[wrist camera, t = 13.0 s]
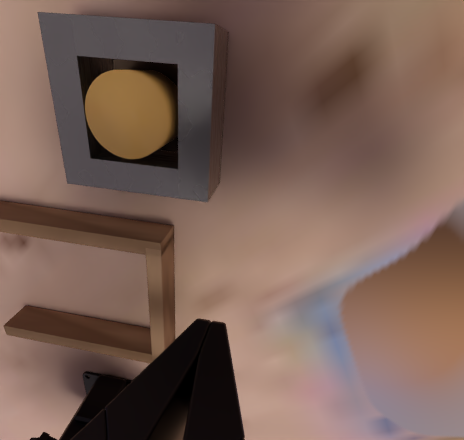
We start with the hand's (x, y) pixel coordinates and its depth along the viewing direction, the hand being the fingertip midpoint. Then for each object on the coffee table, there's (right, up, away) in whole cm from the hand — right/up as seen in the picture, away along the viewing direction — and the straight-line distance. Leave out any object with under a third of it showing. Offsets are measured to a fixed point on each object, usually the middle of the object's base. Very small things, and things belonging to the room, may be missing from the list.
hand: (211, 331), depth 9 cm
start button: (-4, +9, +8) cm, 13 cm away
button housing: (-4, +10, +9) cm, 14 cm away
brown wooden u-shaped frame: (-10, -1, +15) cm, 19 cm away
